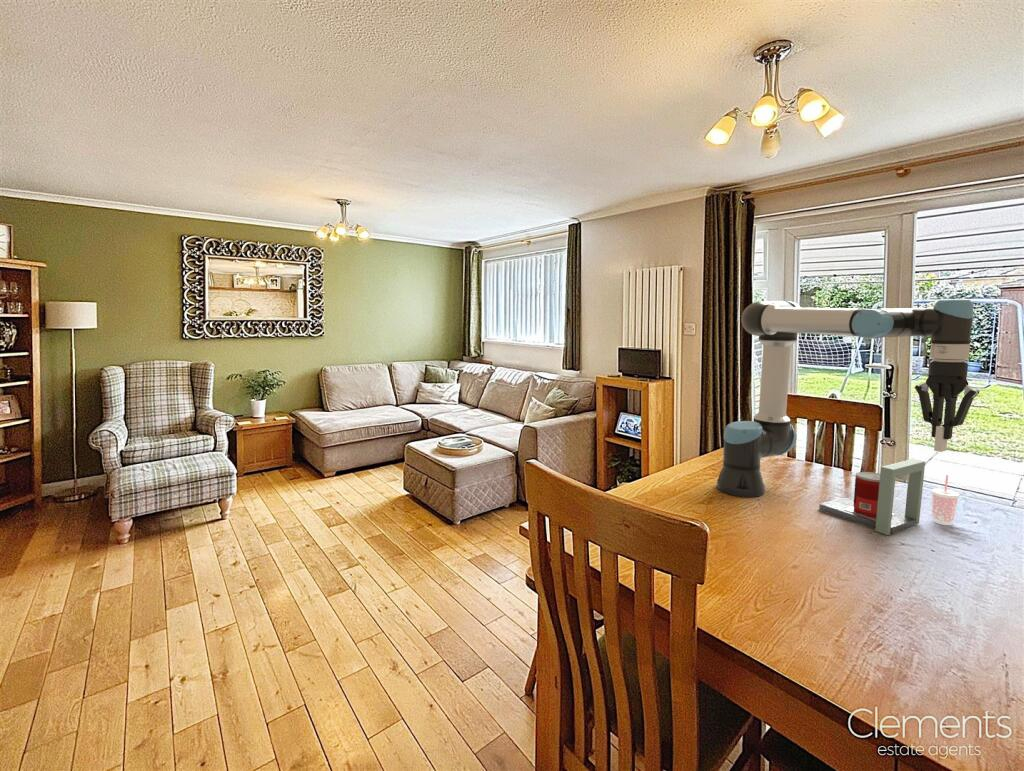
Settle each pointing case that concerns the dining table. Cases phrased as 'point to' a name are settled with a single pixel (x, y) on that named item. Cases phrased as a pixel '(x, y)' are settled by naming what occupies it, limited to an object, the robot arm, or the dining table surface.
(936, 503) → the beverage cup
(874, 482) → the canned food
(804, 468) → the dining table surface
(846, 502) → the plate
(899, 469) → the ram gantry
